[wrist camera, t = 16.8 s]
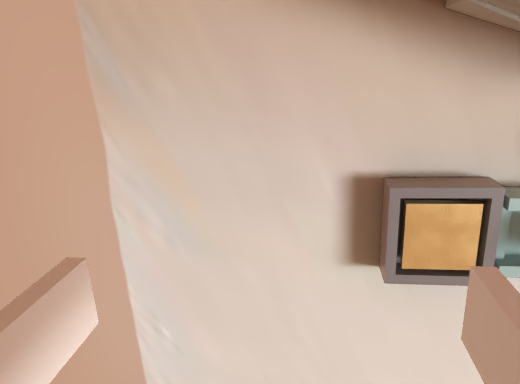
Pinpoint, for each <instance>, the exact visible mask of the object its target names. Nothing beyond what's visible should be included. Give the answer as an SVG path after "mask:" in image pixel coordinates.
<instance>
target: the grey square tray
mask: <svg viewBox="0 0 520 384" xmlns="http://www.w3.org/2000/svg"><path fill="white" fill-rule="evenodd" d="M504 195H505V187H504V186H502V185H501V184H499V183H498V182H496V181H495V180H493V179H492V178H490V177H424V178H384V188H383V207H382V226H381V245H380V264H379V267H380V270H381V273H382V277H383V280H384V283H388V284H423V285H459V286H468V283H469V275H470V270H438V269H402V268H401V265H400V254H401V240H402V225H403V211H404V200H480V201H481V202H482V203H483V204H484V205H483V212H482V220H481V227H480V235H479V242H478V250H477V258H476V265H475V266H481V267H494V263H495V256H496V249H497V243H498V236H499V229H500V222H501V216H502V209H503V202H504Z"/></svg>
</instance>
